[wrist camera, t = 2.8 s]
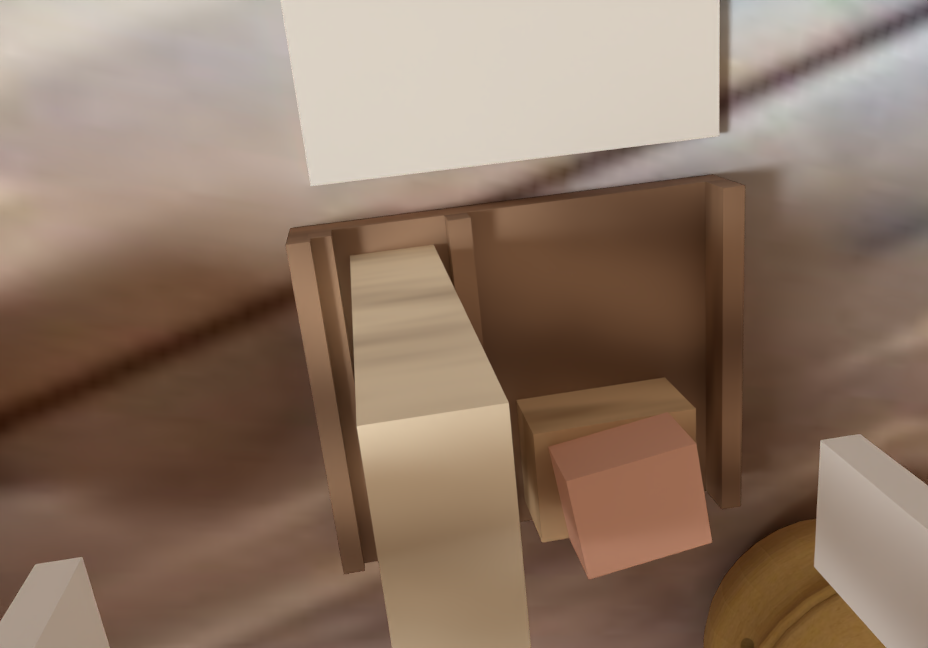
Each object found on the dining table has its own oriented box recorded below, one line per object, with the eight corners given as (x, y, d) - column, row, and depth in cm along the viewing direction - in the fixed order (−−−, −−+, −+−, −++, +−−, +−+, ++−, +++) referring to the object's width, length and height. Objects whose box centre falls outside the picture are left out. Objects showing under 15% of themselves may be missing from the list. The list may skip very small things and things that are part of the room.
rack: (711, 473, 35) (740, 506, 33) (343, 535, 34) (343, 574, 31) (712, 174, 31) (744, 185, 29) (290, 228, 29) (285, 244, 27)
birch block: (459, 465, 32) (540, 752, 19) (383, 477, 32) (413, 778, 19) (433, 244, 29) (508, 402, 16) (350, 255, 29) (356, 426, 16)
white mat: (712, 134, 31) (719, 136, 30) (311, 183, 29) (310, 186, 28) (712, -87, 28) (719, -89, 28) (274, -45, 27) (272, -47, 26)
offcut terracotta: (684, 504, 31) (712, 542, 28) (569, 539, 30) (588, 579, 28) (667, 411, 29) (696, 443, 27) (548, 446, 29) (566, 481, 27)
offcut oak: (666, 477, 34) (696, 516, 31) (525, 500, 33) (542, 542, 30) (664, 377, 32) (695, 408, 29) (516, 400, 32) (533, 434, 29)
